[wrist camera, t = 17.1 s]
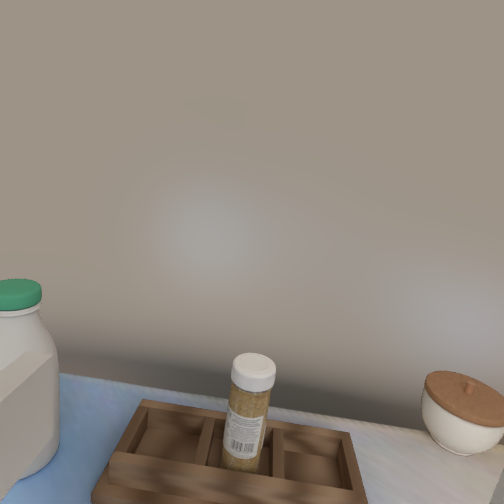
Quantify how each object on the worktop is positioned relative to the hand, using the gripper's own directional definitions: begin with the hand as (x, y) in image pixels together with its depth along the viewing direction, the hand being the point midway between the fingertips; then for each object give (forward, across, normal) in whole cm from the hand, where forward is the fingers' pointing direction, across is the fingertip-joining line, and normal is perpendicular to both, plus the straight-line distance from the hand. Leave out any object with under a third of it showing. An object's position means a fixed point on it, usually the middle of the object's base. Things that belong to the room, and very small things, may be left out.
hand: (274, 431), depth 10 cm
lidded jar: (+37, +30, -28) cm, 55 cm away
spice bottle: (+25, 0, -27) cm, 37 cm away
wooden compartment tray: (+25, 0, -28) cm, 37 cm away
